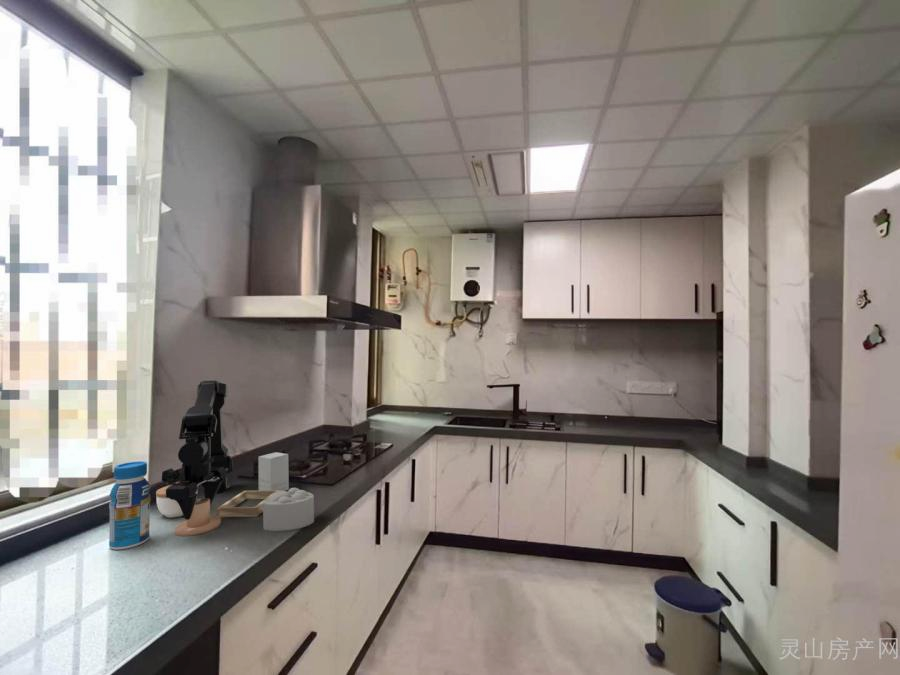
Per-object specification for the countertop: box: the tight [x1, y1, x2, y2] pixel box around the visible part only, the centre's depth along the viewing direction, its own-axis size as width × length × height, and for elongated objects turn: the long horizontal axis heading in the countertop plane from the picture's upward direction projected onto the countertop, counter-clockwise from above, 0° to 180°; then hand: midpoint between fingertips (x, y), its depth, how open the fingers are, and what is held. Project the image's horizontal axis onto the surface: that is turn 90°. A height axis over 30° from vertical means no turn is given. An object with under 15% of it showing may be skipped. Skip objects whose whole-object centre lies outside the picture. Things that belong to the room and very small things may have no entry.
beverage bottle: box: [108, 460, 152, 551], centre depth 105 cm, size 8×8×20 cm
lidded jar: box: [155, 481, 199, 519], centre depth 124 cm, size 11×11×9 cm
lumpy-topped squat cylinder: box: [262, 487, 315, 532], centre depth 115 cm, size 10×13×9 cm
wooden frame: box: [215, 490, 279, 518], centre depth 128 cm, size 16×12×2 cm
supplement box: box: [257, 451, 290, 492], centre depth 143 cm, size 7×7×13 cm
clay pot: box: [187, 497, 211, 528], centre depth 113 cm, size 6×6×6 cm
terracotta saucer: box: [173, 515, 222, 537], centre depth 113 cm, size 11×11×1 cm
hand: (198, 512), depth 113 cm, fingers open, 9 cm apart
